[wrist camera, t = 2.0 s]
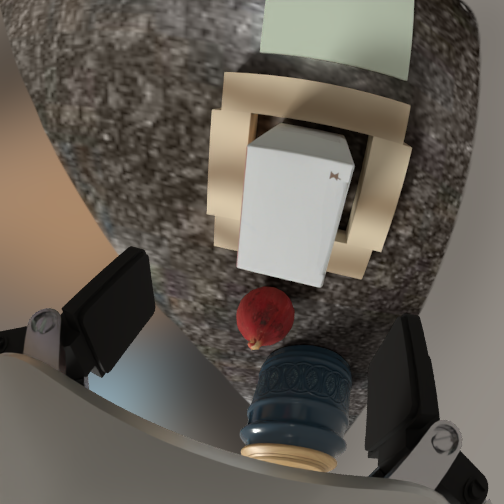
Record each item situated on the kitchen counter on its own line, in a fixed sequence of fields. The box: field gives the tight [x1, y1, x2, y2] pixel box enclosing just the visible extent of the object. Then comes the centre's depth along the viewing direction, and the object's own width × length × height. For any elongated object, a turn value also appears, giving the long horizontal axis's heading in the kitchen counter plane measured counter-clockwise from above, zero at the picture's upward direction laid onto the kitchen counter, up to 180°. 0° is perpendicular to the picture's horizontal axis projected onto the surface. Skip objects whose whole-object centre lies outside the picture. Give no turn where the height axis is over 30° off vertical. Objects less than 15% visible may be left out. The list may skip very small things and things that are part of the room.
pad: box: [260, 0, 414, 81], centre depth 15 cm, size 12×12×1 cm
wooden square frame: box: [207, 72, 412, 279], centre depth 23 cm, size 16×16×2 cm
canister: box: [240, 345, 352, 472], centre depth 30 cm, size 13×13×18 cm
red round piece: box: [237, 286, 294, 350], centre depth 28 cm, size 6×6×8 cm
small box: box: [236, 123, 355, 287], centre depth 20 cm, size 8×6×10 cm
